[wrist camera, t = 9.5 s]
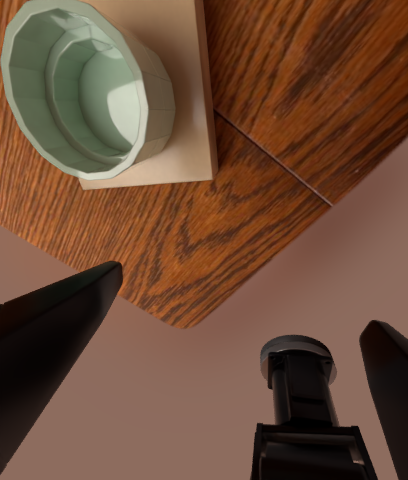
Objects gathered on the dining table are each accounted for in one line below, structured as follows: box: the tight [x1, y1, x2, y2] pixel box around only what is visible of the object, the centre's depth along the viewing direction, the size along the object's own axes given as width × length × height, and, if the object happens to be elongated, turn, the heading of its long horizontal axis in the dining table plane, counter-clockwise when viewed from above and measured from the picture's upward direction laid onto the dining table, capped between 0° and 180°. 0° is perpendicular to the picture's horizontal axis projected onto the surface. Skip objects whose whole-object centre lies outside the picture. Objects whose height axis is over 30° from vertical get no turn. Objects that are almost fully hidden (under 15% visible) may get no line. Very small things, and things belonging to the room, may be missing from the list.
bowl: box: [0, 0, 176, 181], centre depth 12 cm, size 7×7×4 cm
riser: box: [78, 0, 219, 190], centre depth 15 cm, size 10×10×3 cm
